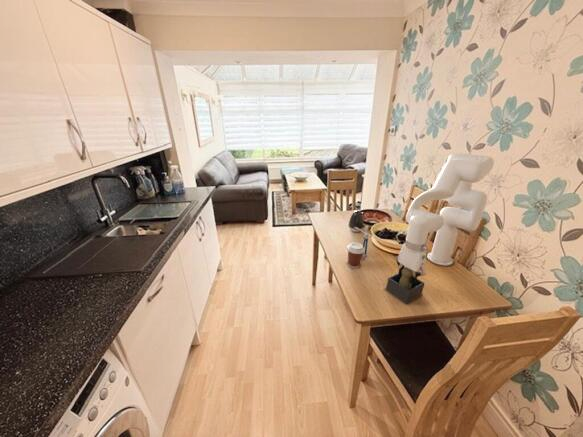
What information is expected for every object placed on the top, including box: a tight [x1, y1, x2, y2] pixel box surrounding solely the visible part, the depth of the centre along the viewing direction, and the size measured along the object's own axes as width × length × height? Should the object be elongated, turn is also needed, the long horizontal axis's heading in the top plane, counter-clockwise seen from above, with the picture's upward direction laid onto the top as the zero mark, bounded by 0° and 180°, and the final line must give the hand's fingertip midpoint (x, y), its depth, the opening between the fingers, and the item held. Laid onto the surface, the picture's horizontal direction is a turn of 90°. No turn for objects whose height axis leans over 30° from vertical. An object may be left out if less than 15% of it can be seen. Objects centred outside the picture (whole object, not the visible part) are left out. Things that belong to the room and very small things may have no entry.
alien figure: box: [355, 225, 380, 259], centre depth 136 cm, size 20×5×19 cm, turn 30°
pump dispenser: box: [348, 210, 366, 233], centre depth 167 cm, size 10×10×15 cm
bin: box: [385, 273, 425, 305], centre depth 110 cm, size 11×11×7 cm
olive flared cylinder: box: [399, 266, 413, 290], centre depth 108 cm, size 6×6×11 cm
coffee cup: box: [346, 241, 365, 269], centre depth 129 cm, size 9×9×12 cm
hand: (406, 278), depth 108 cm, fingers closed on olive flared cylinder, 5 cm apart
